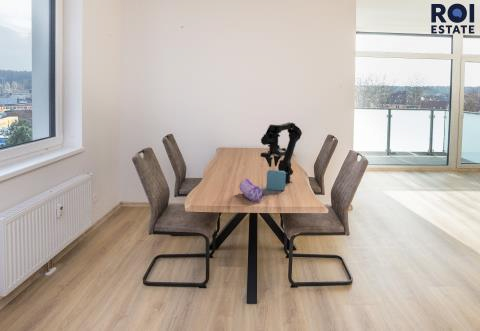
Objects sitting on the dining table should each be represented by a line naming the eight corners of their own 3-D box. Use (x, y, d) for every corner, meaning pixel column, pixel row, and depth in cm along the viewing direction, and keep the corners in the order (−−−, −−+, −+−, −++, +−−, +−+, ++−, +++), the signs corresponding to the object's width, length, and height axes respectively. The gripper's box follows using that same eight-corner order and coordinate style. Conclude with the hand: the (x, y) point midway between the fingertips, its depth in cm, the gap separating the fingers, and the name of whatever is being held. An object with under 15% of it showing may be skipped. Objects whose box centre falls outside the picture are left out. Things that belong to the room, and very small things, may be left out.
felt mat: (263, 187, 291) (263, 187, 291) (281, 192, 279) (281, 192, 279) (250, 190, 283) (250, 190, 283) (267, 195, 271) (267, 194, 271)
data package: (284, 189, 289) (285, 171, 287) (284, 190, 284) (285, 172, 282) (266, 188, 290) (267, 170, 288) (266, 189, 285) (267, 171, 283)
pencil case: (264, 201, 257) (264, 185, 255) (249, 202, 254) (249, 186, 253) (251, 192, 278) (251, 178, 276) (237, 193, 275) (237, 178, 273)
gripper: (272, 146, 281) (271, 170, 283) (292, 144, 293) (291, 167, 295) (260, 144, 289) (259, 167, 292) (280, 142, 301) (279, 164, 304)
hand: (272, 166), depth 295 cm, fingers open, 5 cm apart
